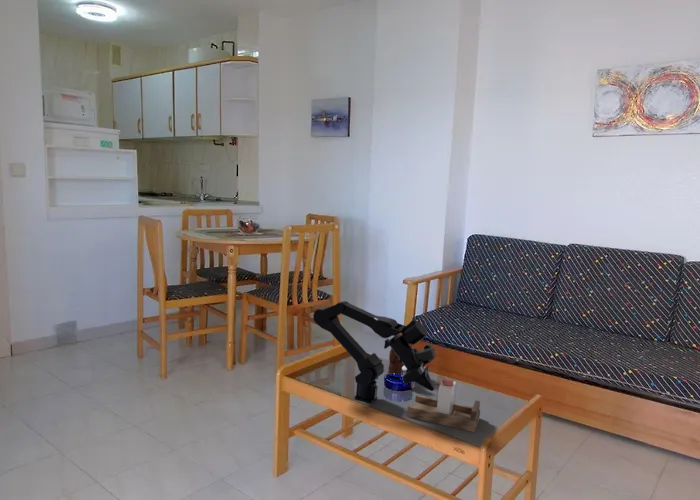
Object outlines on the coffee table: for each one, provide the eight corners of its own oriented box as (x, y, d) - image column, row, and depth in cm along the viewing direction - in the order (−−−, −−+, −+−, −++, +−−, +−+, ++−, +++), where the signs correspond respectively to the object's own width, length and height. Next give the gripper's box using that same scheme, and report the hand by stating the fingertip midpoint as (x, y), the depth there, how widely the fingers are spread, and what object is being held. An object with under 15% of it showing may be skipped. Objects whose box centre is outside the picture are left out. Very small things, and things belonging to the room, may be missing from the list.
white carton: (436, 416, 166) (439, 383, 165) (441, 407, 174) (444, 375, 173) (448, 419, 165) (451, 385, 164) (452, 410, 173) (456, 378, 172)
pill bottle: (403, 382, 199) (405, 358, 198) (416, 385, 197) (418, 361, 196) (398, 386, 194) (400, 361, 193) (411, 390, 192) (413, 365, 191)
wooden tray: (406, 416, 168) (408, 398, 167) (415, 403, 179) (417, 386, 179) (474, 432, 160) (476, 413, 160) (479, 418, 171) (481, 400, 171)
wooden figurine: (396, 368, 215) (400, 327, 213) (410, 372, 212) (414, 330, 210) (384, 376, 205) (388, 332, 203) (399, 380, 202) (403, 335, 200)
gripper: (416, 345, 162) (446, 386, 159) (429, 332, 179) (456, 369, 177) (390, 364, 165) (419, 404, 163) (405, 349, 183) (431, 386, 180)
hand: (433, 390), depth 170 cm, fingers closed
